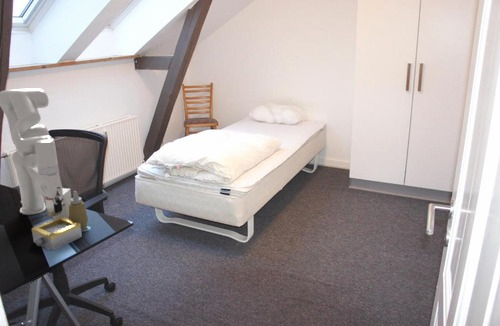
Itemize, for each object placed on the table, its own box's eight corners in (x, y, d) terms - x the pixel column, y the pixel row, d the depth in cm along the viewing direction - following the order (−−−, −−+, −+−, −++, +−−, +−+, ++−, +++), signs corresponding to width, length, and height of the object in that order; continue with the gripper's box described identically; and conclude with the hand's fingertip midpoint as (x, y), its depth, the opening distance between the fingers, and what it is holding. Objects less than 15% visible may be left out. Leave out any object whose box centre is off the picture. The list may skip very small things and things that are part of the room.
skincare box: (61, 217, 191) (57, 187, 186) (75, 218, 190) (71, 188, 186) (52, 225, 183) (48, 194, 178) (67, 225, 182) (62, 194, 178)
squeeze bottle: (82, 232, 177) (77, 195, 171) (66, 230, 178) (61, 193, 173) (92, 224, 184) (88, 188, 179) (76, 222, 186) (72, 187, 180)
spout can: (44, 214, 165) (41, 196, 163) (60, 208, 172) (58, 191, 169) (52, 217, 163) (49, 199, 160) (68, 211, 169) (66, 193, 167)
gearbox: (29, 244, 166) (26, 230, 164) (63, 229, 179) (61, 216, 177) (48, 252, 160) (45, 238, 158) (81, 236, 173) (80, 223, 171)
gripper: (27, 168, 162) (33, 208, 167) (52, 176, 153) (58, 218, 159) (44, 163, 168) (50, 202, 173) (69, 171, 159) (75, 211, 165)
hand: (54, 209), depth 166 cm, fingers closed on spout can, 5 cm apart
